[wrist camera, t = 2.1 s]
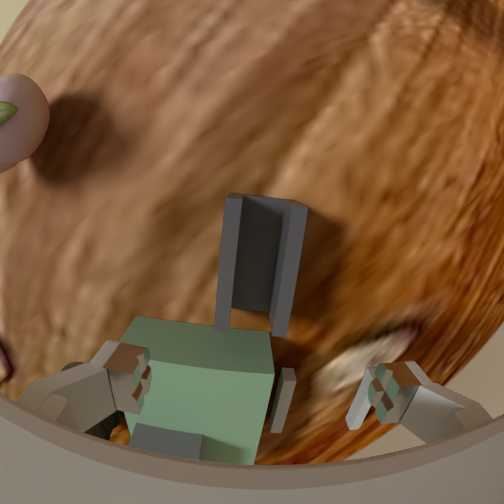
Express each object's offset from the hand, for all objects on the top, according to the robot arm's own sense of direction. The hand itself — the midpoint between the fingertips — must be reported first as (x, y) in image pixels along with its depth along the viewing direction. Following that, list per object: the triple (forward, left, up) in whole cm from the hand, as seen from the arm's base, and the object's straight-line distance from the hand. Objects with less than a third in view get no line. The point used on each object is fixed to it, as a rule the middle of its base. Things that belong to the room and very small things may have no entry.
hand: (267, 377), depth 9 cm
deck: (+15, +2, -14) cm, 21 cm away
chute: (0, 0, -15) cm, 15 cm away
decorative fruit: (-10, -22, -15) cm, 28 cm away
